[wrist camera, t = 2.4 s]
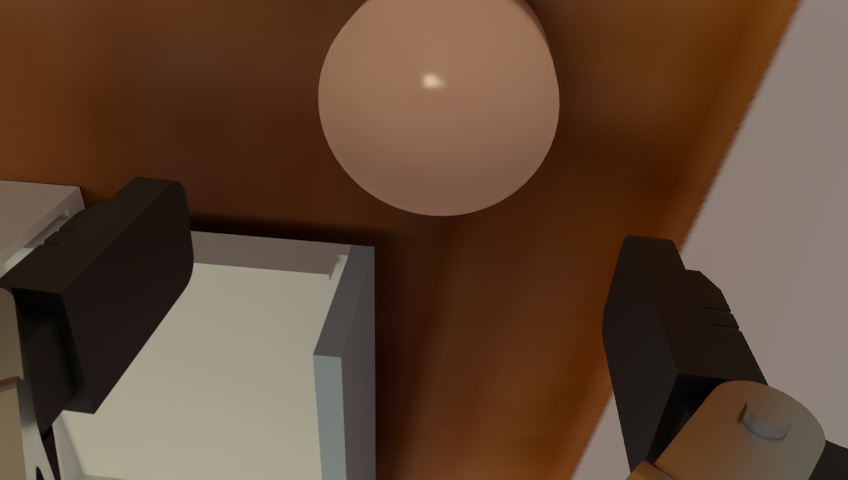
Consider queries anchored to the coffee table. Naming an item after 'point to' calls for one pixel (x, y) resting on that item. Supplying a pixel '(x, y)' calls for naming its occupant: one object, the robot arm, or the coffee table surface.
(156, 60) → the coffee table surface
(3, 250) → the beige shelf
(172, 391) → the tray
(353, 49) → the tan dome knob
